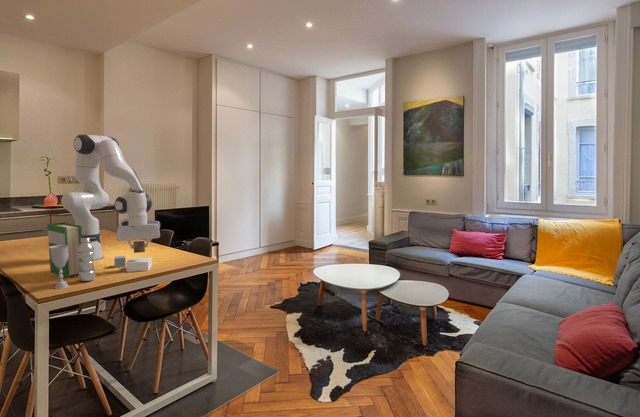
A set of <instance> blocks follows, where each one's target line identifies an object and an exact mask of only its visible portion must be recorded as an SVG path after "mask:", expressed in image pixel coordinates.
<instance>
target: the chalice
mask: <svg viewBox="0 0 640 417" xmlns="http://www.w3.org/2000/svg"><path fill="white" fill-rule="evenodd" d="M68 247H69V245H55V246H50V247H49V246H48V249H49V248H50V252H51V259H52V261H53V263H54V265H55V266H56V267H58V268H59V274H60V275H58V276H57V277H58V278H59V281H58V282H56V284H55V287H54V289H55V290H62V289H67V288H68V287H69V285H68V283H67V281H65V280H64V279H63V278H64V277H63V275H62V272H63V271H62V267H64V266H65V264H66V262H67V259H68V257H69V256H68Z"/></svg>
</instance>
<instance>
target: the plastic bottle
mask: <svg viewBox="0 0 640 417" xmlns="http://www.w3.org/2000/svg"><path fill="white" fill-rule="evenodd" d="M80 242H81V244H80V246H79V247H78V250H77V251H78V256H79V261H80V262H79V263H80V266H79V274H77V275H78V280H79V281H81V282H90V281H93V280H95V278H96V271H95V266H94V260H93V256H94V247H93V246H92V244H91V243H90V237H83V238H80Z"/></svg>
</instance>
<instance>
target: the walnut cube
mask: <svg viewBox="0 0 640 417" xmlns="http://www.w3.org/2000/svg"><path fill="white" fill-rule="evenodd" d="M145 244H146V243H145V240H134V241H133V245H134V249H133V253H134V254H137V253H138V254H139V253H145V251H146V248H145Z"/></svg>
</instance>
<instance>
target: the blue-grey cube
mask: <svg viewBox="0 0 640 417" xmlns="http://www.w3.org/2000/svg"><path fill="white" fill-rule="evenodd" d="M113 261H114V269H116V268H127V267H126V263H127V262H126V255H120V256H119V255H118V256H116V255H115V256H114V260H113Z"/></svg>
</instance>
